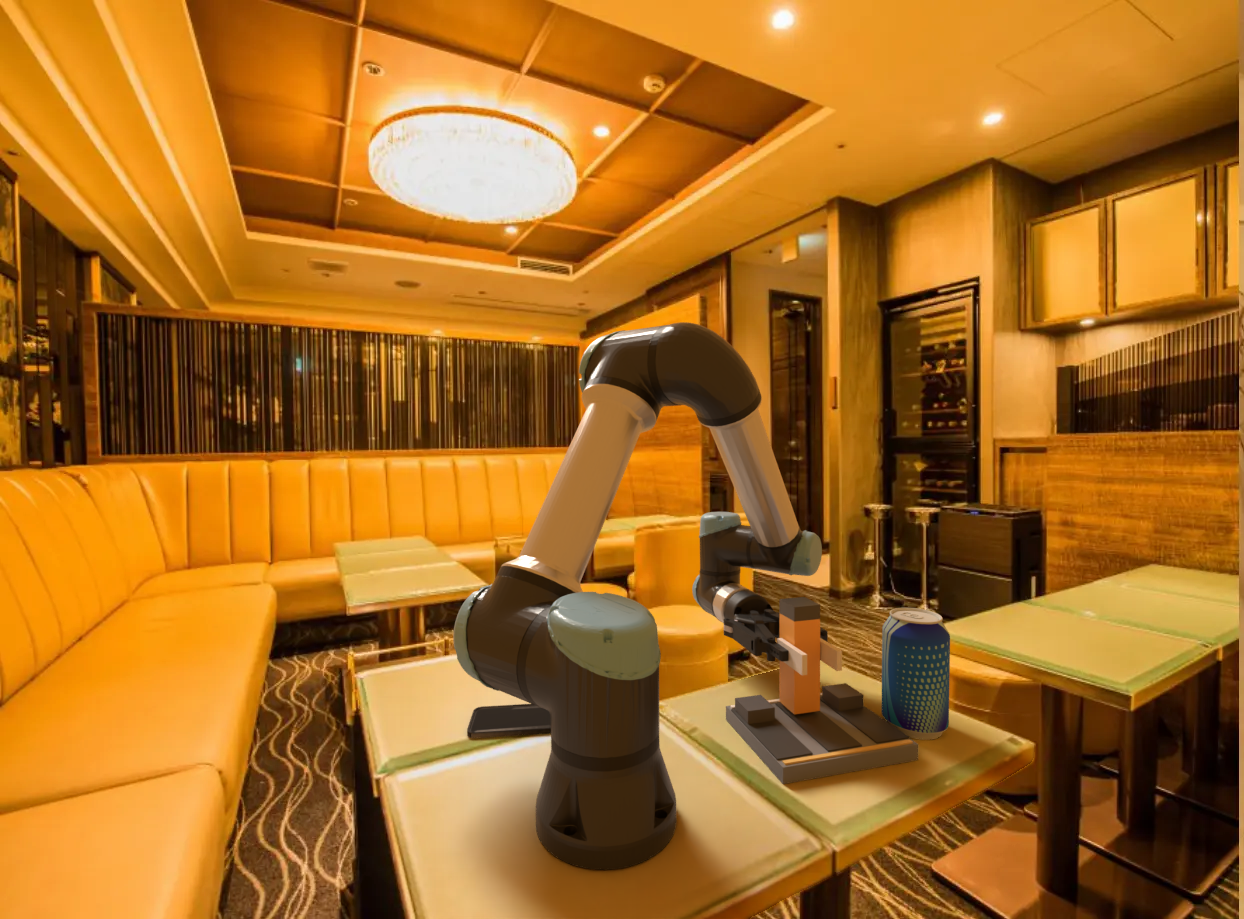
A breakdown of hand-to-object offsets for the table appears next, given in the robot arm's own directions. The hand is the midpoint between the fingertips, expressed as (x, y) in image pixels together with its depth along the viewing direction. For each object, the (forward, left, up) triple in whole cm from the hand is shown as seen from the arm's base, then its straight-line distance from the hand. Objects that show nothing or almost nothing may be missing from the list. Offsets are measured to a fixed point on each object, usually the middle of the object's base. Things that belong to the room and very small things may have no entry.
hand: (822, 662), depth 76 cm
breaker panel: (0, +2, -11) cm, 11 cm away
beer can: (+15, +1, -11) cm, 19 cm away
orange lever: (0, +6, -8) cm, 10 cm away
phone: (-38, +17, -12) cm, 43 cm away
